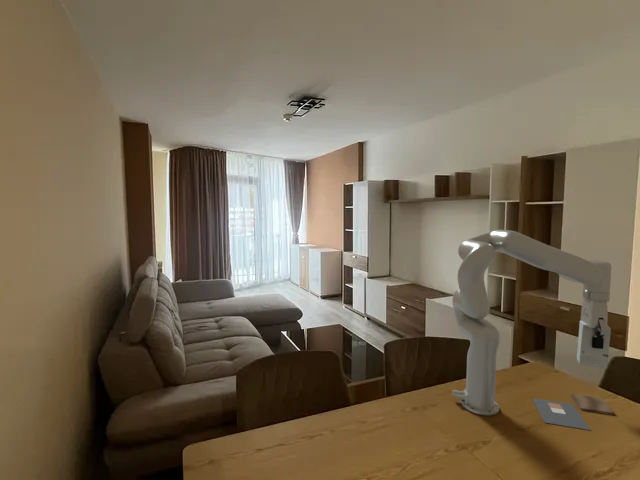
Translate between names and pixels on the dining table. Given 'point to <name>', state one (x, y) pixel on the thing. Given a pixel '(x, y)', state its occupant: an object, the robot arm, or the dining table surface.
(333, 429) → the dining table surface
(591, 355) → the skincare box
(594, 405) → the coaster
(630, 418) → the dining table surface
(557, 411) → the gray tile
